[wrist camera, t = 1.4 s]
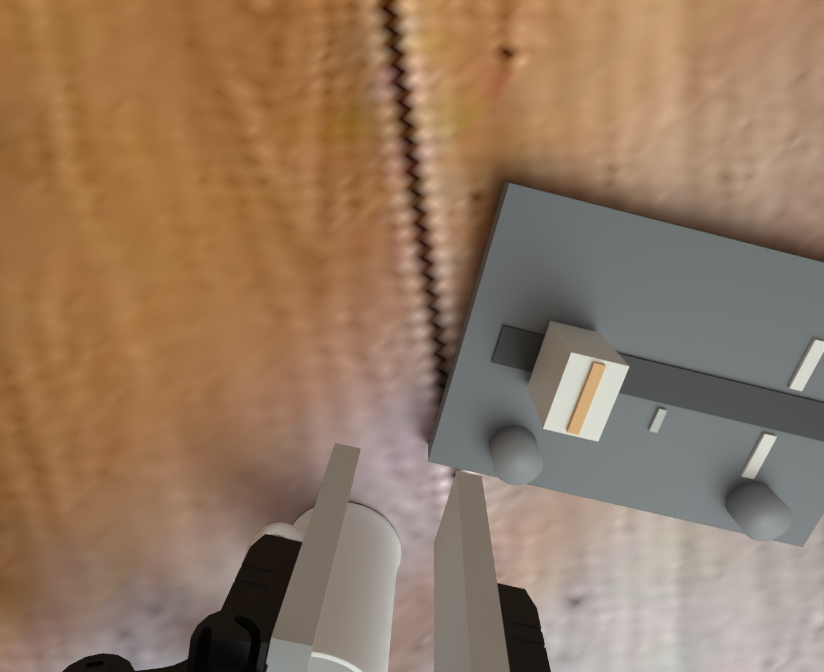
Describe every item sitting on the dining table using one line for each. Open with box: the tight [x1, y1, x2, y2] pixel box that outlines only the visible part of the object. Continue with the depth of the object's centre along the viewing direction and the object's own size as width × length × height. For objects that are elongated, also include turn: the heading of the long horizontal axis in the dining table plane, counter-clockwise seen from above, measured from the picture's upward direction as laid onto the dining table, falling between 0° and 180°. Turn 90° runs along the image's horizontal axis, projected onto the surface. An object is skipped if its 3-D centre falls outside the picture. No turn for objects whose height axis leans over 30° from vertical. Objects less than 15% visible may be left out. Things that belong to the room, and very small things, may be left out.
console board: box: [428, 181, 824, 547], centre depth 32 cm, size 18×26×4 cm
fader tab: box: [527, 321, 629, 442], centre depth 29 cm, size 4×3×5 cm
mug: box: [245, 502, 401, 672], centre depth 34 cm, size 12×8×12 cm
